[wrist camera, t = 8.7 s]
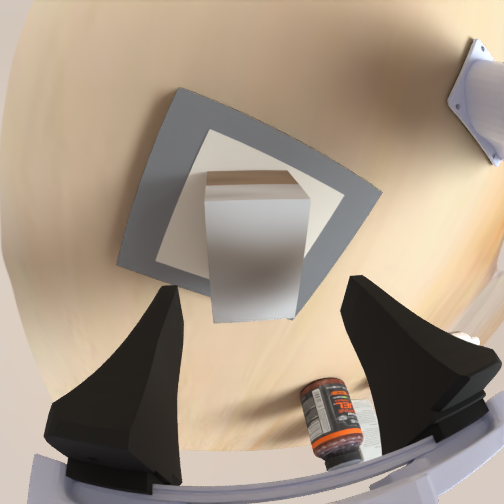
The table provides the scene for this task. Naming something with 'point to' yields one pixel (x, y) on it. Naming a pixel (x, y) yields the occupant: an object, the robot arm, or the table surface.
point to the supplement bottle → (332, 423)
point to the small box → (368, 429)
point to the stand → (232, 159)
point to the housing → (255, 243)
